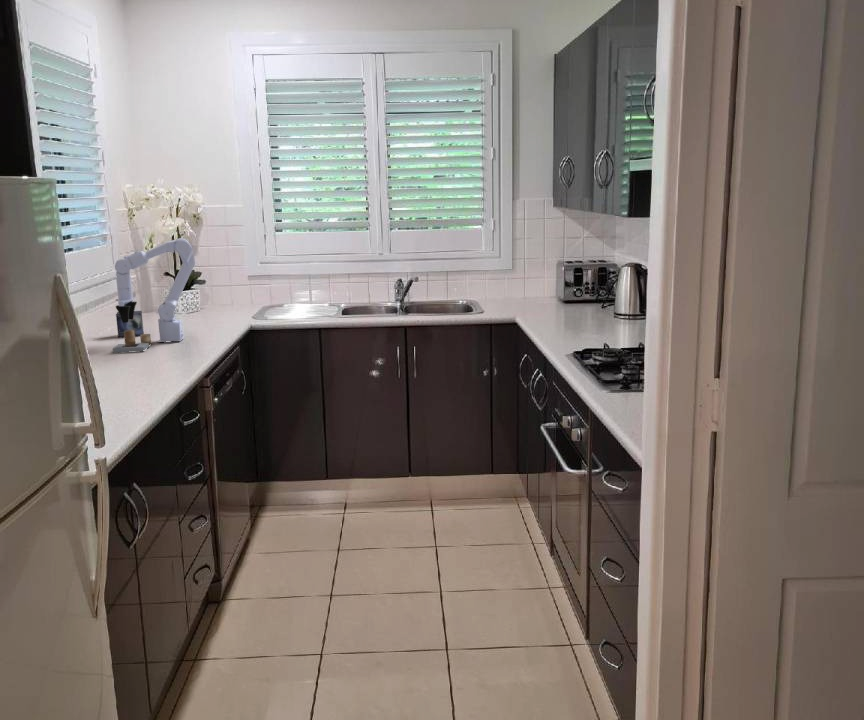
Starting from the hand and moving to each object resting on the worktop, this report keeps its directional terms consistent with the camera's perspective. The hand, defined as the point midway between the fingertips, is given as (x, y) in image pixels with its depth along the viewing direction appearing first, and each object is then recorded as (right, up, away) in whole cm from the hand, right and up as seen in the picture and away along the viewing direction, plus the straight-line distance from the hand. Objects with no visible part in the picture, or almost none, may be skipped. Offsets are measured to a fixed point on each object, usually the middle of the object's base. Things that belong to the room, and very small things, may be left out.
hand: (128, 320), depth 340 cm
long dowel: (+5, -12, -11) cm, 17 cm away
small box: (-7, -6, +21) cm, 23 cm away
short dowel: (+8, -10, -1) cm, 13 cm away
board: (+5, -12, -11) cm, 17 cm away
